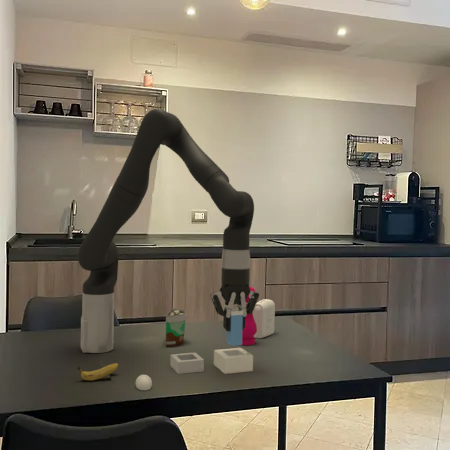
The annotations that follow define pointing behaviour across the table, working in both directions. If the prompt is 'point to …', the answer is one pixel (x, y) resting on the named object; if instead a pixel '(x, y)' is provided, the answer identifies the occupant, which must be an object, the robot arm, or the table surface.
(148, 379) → the egg
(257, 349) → the table surface
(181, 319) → the food container
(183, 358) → the box
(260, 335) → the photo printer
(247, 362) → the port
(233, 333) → the plug
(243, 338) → the pepper mill
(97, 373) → the banana
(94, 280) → the robot arm
